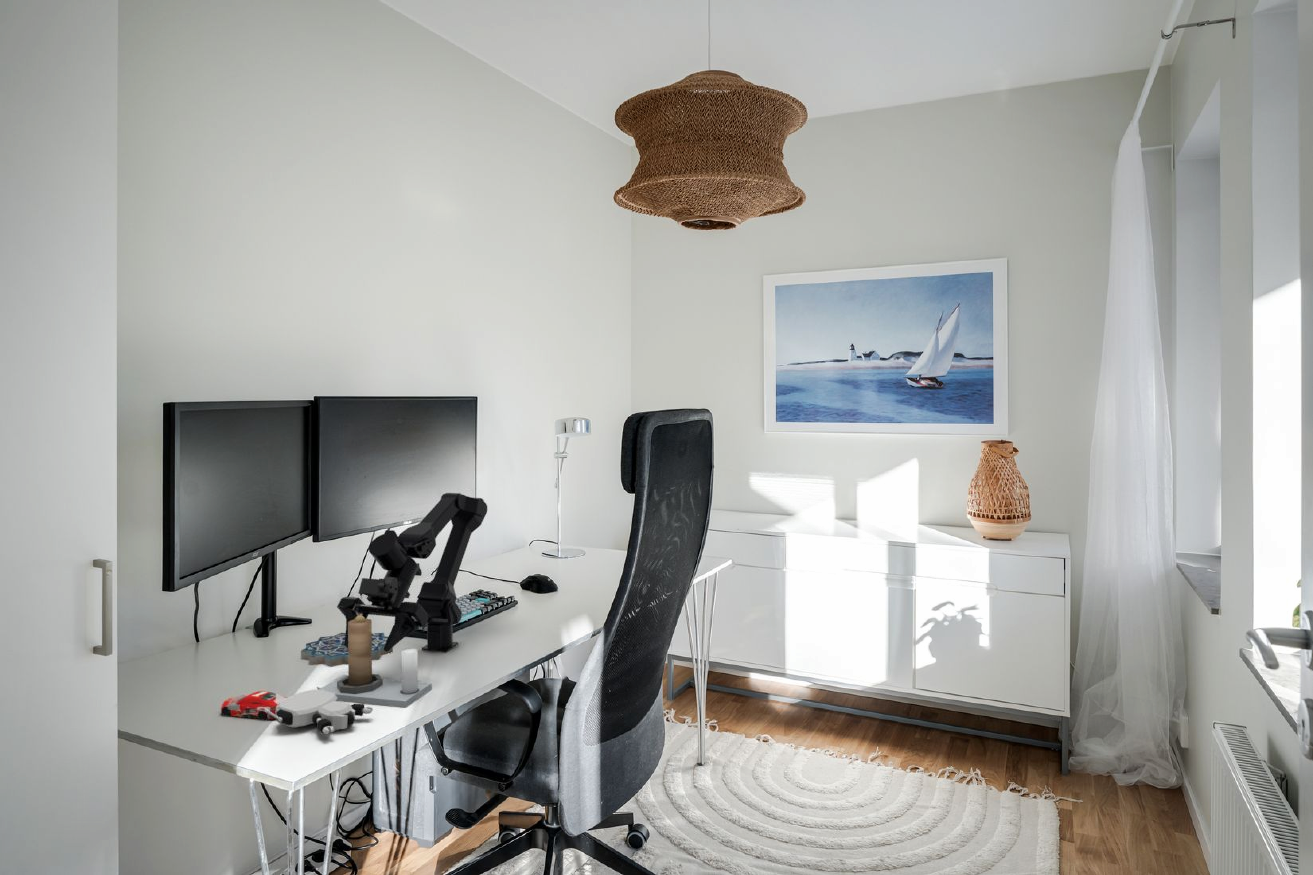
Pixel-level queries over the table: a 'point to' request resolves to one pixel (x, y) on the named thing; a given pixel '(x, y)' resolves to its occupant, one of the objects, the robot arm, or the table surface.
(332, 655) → the decorative tile
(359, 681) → the brown tall cylinder
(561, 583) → the table surface
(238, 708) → the race car
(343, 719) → the robot toy
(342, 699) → the plate
